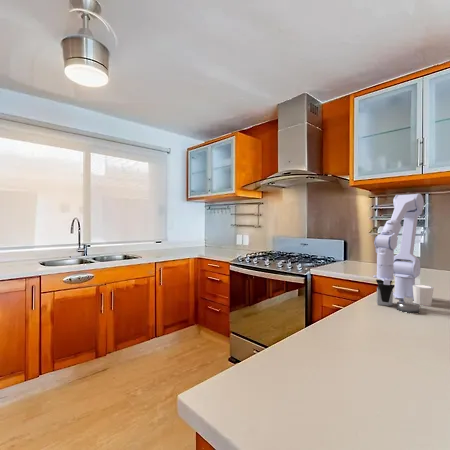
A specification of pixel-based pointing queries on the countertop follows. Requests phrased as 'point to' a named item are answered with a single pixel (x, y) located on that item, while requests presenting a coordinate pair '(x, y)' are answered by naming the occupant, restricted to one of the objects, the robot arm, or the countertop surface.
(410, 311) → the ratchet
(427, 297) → the shot glass
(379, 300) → the socket
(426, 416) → the countertop surface
